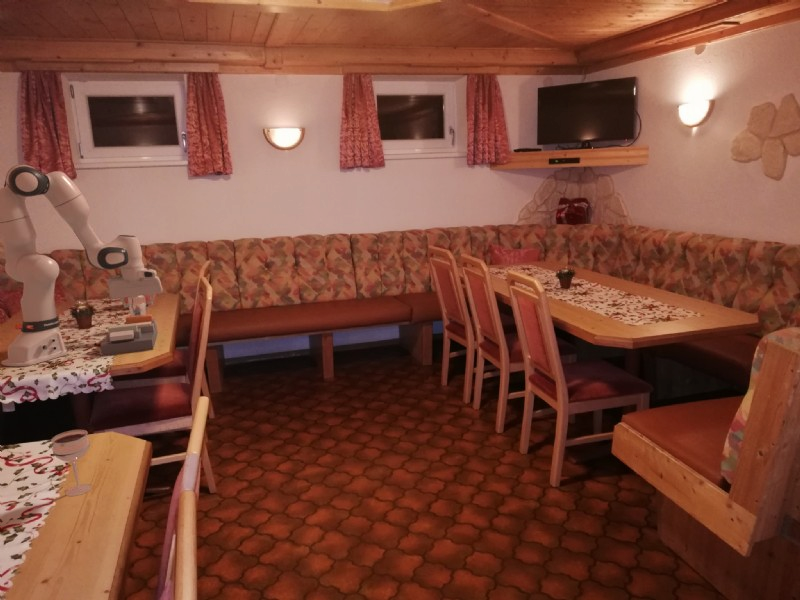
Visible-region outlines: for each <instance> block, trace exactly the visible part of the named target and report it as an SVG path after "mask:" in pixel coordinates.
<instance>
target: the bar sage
mask: <svg viewBox="0 0 800 600" xmlns="http://www.w3.org/2000/svg"><path fill="white" fill-rule="evenodd" d="M107 330H108V332H109V335H110V333H112V332H120V331H129V330H133V332H137V331H138V327H137V323H134V324H125V325H124V324H119V325H117V324H116V325H109V326H108V327H107ZM108 332H107V333H108Z"/></svg>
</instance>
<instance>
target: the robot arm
mask: <svg viewBox="0 0 800 600" xmlns="http://www.w3.org/2000/svg"><path fill="white" fill-rule="evenodd" d="M41 195H43V196H44V197H45V198H46V199H47V200H48V201H49V203H50V204H51V205H52V206H53V208H54V210H55V211H56V212H57V213H58V214H59V216H60V217H61V218H62V220H63V221H65V222H66V224H68V226H69V227H70V228H71V229H72V231H73V233H74V234H75V236H76V237H77V239H78V240H79V242H80V243H81V245H82V246H83V248H84V251H85V255H86V260H87V262H88V264H89V265H90V266H91V267H93V268H95V269H100V270H101V269H102V270H105V271H106V270H107V271H110V270H111V271H112V270H116V269H118V268H120V272H121V274H120V275H119V274H118V275H111V276H109V277H107V279H106V285H107V287H108V292H109V298H110V299H112V300H115V299H119V301H120V302H121V303H122V305H123V308H124V309H129V306H128V303H125V302H124V298H125V297H134V296H142V295H150V297H152V298H151V300H150V301H148V303H149V304H148V306H153V303H154V302H153V301H154V300H153V298H154V294H156V295H158V294H159V295H160V294H161V293H162V292H163V286H162V282H161V279H160V277H159V276H157V275H158V273H157V270H155V269H152V268H146V267H145V264H144V262H143V252H142V247H141V244H140V241H139V238H138V237H137V236H135V235H129V234H118V235H117V236H116V238H115V239H113V240H112V241H110V242H108V243H107V244H105V243H103V242H102V241H101V240H100V239H99V238H98V236H97V234H96V233H95V231H94V230H93V227H92V226H91V225H90V223H89V215H90V210H91V208H90V206H89V203H88V202H87V199H86V198H85V196H84V195H83V193H82V192H81V190H80V189H79V187H78V186H77V185H76V183H74V181H73V180H72V179H71V178H70V177H69V176H68V175H67V174H66V173H64V172H63V171H58V170H57V171H52V172H48V173H47V174H45V173H43V172H41V171H39V170H38V169H36V168H35V167H33V166H31V165H28V164H16V165H14V166H12V167H11V168H9V170H8V171H7V174H6V176H5V180H4V185H3V187H1V188H0V239H1V241H2V246H3V249H4V254H5V255H4V256H5V264H4V270H5V273H6V274H7V276H8V277H10V278H11V279H12V280H14V281H16V282H19V283H23V292H22V296H21V299H20V300H19V301H20V307H21V314H22V318H23V321H22V324H19V323H16V324H14V326H13V328H14V329H15V330H20V333H19V334H18V335H17V337H16V338H15V339H14V340H13V341H12V342H11V344H9V346H8V347H7V358H5V359H3V360H2V361H1V362H0V363H1V366H5V367H29V366H33V365H36V364H39V363H42V362H47V361H51V360H54V359H57V358H60V357H64V356H67V355H68V348H67V346H66V344H65V341H64V340H63V336H62V333H61V330H60V329H61V328H60V325H61V324H60V318H59V316H58V314H57V309H56V301H55V287H56V280H57V278H58V277H59V274H60V266H59V264H58V263H57V261H56V260H54V258H51V257H49V256H47V255H45V254H38V251H37V247H36V245H37V244H36V239H37V233H36V229H35V228H34V224H33V222H32V219H31V216H30V214H29V211H28V209H27V206H26V199H27V198H30V197H31V198H32V197H35V196H41ZM154 299H155V298H154ZM152 300H153V301H152Z"/></svg>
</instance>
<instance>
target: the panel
mask: <svg viewBox="0 0 800 600" xmlns="http://www.w3.org/2000/svg"><path fill="white" fill-rule="evenodd" d="M156 321H157V320H156V318H153V321H152V322H151V324H152V326H143V327H138V331H137V332H134V337H133V339H124V340H116V341H110V335H109V332H107V333H106V335H105V338H104V340H103V341H102V342H101V344H100V350H101V351H100V353H101V356H102V357H103V356H111V355H119V354H121V355H122V354H129V353H137V352H145V351H152V350H154V349H155V345H156V344H155V343H156V341H157V337H158V333H159V332H158V326H157V322H156ZM125 324H126V321H124V323H123V325H125Z"/></svg>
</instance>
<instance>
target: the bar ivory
mask: <svg viewBox="0 0 800 600" xmlns="http://www.w3.org/2000/svg"><path fill="white" fill-rule="evenodd" d="M133 324H134V323H133ZM143 326H152V324H151V322H142V323H137V327H143Z"/></svg>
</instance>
